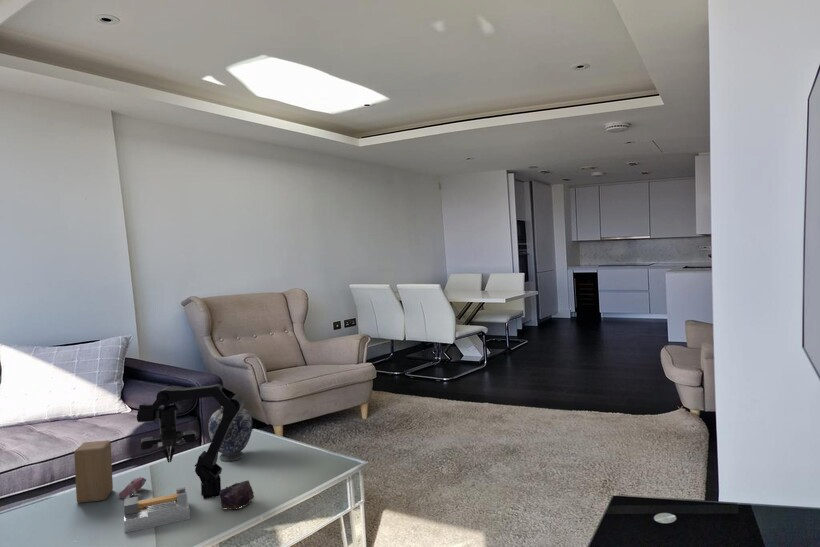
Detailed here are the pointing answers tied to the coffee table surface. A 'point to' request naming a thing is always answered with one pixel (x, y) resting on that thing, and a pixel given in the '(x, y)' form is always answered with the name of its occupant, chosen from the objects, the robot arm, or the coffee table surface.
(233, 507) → the rock
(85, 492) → the block
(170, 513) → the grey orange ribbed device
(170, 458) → the robot arm
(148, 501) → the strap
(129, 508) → the block
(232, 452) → the decorative vase
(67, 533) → the coffee table surface
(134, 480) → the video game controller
